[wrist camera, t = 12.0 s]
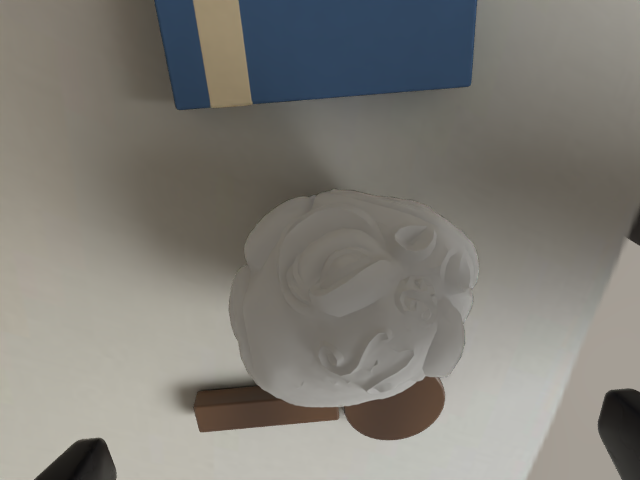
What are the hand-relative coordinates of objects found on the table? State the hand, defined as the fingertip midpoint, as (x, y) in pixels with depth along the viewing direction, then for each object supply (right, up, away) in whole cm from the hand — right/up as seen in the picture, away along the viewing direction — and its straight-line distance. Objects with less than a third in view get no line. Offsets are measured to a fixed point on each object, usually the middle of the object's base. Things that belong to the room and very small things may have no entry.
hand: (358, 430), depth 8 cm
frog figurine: (0, +4, +8) cm, 8 cm away
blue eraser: (-1, +9, +5) cm, 11 cm away
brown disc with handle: (0, -3, +10) cm, 11 cm away
